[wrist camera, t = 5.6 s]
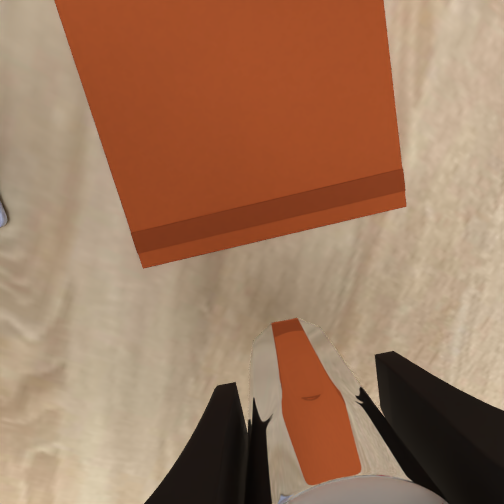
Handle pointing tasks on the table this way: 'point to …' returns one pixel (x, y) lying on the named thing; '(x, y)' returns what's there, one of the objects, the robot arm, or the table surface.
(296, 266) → the table surface
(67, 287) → the table surface
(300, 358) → the milkshake
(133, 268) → the table surface
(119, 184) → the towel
